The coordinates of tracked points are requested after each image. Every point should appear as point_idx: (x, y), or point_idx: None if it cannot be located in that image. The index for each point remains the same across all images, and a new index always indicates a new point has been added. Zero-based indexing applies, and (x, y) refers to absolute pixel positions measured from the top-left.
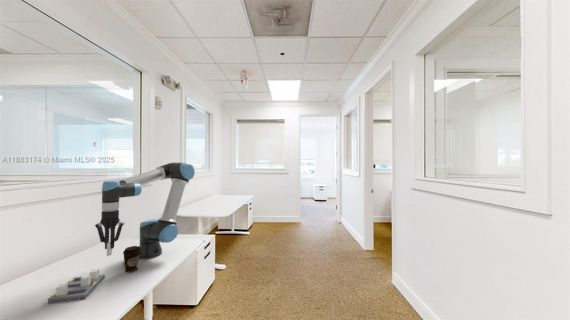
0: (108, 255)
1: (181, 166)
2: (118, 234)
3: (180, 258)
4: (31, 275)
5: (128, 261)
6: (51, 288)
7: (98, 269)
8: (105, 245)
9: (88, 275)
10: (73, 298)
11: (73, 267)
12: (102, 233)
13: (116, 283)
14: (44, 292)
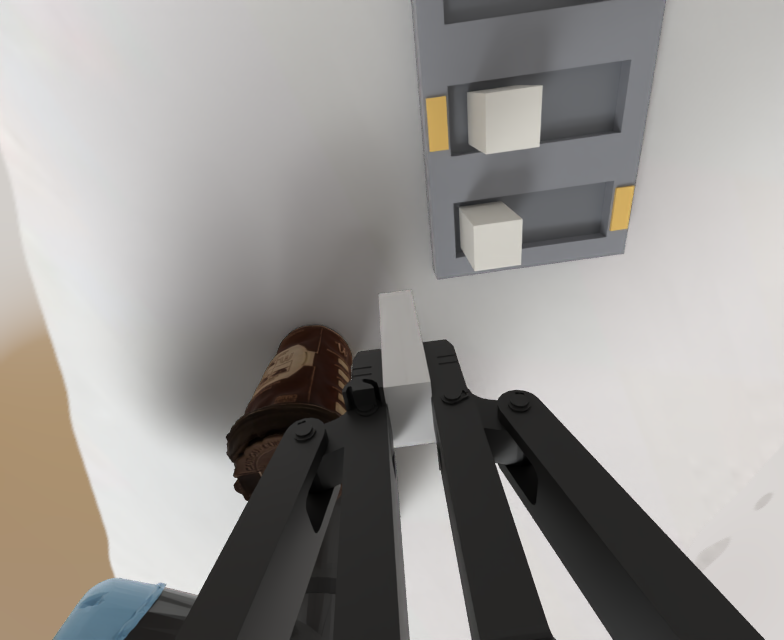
0: (393, 292)
1: None
2: (232, 536)
3: (98, 479)
4: None
5: (300, 364)
6: (710, 156)
7: (474, 264)
8: (452, 371)
9: (502, 149)
10: None
11: (669, 417)
12: (581, 556)
13: (305, 172)
14: (738, 97)
